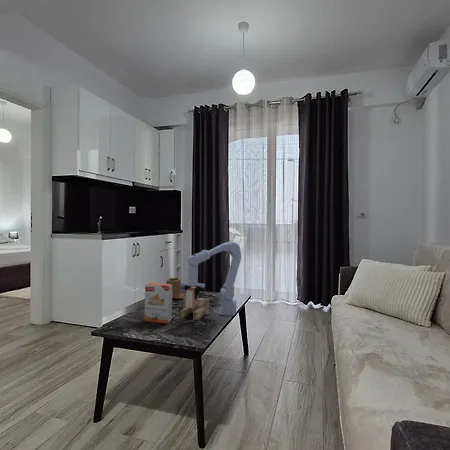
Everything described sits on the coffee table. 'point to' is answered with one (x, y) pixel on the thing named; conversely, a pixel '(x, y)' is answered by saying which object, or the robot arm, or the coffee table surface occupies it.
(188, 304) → the book
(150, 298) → the cracker box
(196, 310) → the book rack
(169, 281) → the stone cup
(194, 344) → the coffee table surface
